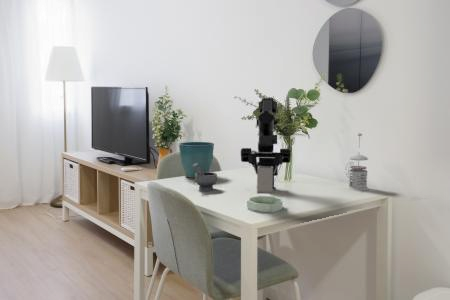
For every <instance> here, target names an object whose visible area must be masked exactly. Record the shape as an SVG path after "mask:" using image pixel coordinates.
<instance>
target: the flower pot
mask: <svg viewBox="0 0 450 300" xmlns="http://www.w3.org/2000/svg"><path fill="white" fill-rule="evenodd" d="M178 146H179V147H178V149H179V156H180V158H179V159H180V162H181V165H182V167H183V168H182V169H183V171H184V176H185V177H187V178H190V179H191V178H193V179H195V174H196V171H195V169H194V168H193V165H194V164H196V163H198V164H199V167H200V169H201V170H202V172H210V169H211V166H212V163H213V158H214V148H215V147H214V146H215V143H214V142H209V141H185V142H183V141H182V142H179V143H178Z"/></svg>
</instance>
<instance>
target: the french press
mask: <svg viewBox="0 0 450 300" xmlns="http://www.w3.org/2000/svg"><path fill="white" fill-rule="evenodd" d="M362 136H363V134H362V133H360V132H359V133H357V137H359V138H358V141H359V142H358V147H361V146H360V144H361V143H360V141H361V137H362ZM349 160H352V162H351V161H349V162H348V163H347V164H346V167H345V169H347V173H345V175H346V177H347V178H348V186H347V187H345V188H346V190H347V189H348V190H352V191H357V192H359V191H360V192H361V191H363V192H364V191H369V188H368V183H367V182H368V180H367V179H368V170H366V169H367V167H366V166H364V165H363V166H362V165H359V164H360V161H368V160H369V158H368V157H367V156H365V155H363V154H360V153H358V154H354V155H352V156H349ZM353 161H358V164H357V165H354V162H353ZM348 164H349V166H348ZM347 166H348V168H347Z"/></svg>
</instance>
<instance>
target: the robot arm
mask: <svg viewBox="0 0 450 300" xmlns="http://www.w3.org/2000/svg"><path fill="white" fill-rule="evenodd" d="M276 114H278V102H277V101H275V100H274V98H273V97H263V98H262V100H261V101H259V102H258V116H257V117H256V126H257V127H258V142H257V151H256V150H252V148H251V147H242V148H241V149H240V161H241V162H242V163H248V164H249V165H250V164H251V166H252V167H253V169H254V171H255V174H256V175H257V168H258V166H273V188H272V190H276V189H277V187H275V177H277V176H278V172H279V171H278V169H279V166H280V165H283V164H287V163H288V164H289V163H290V162H291V151H292V150H291V149H290V148H279V152H278V151H277V152H274V145H278V134H274V132H275V131H274V129H275V127H276V126H277V125H278V119H277V117H276ZM257 158H258V159H257ZM257 160H258V161H257Z"/></svg>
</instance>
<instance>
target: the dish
mask: <svg viewBox="0 0 450 300" xmlns="http://www.w3.org/2000/svg"><path fill="white" fill-rule="evenodd" d="M283 203H284V199H283V198H280V197H276V196H272V195H256V196H251V197H250V196H249V197H248V199H247V200H246V208H247V209H248V210H249V211H251V212H252V211H253V212H257V213H275V212H280V211H281V210H283V205H284V204H283Z"/></svg>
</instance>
